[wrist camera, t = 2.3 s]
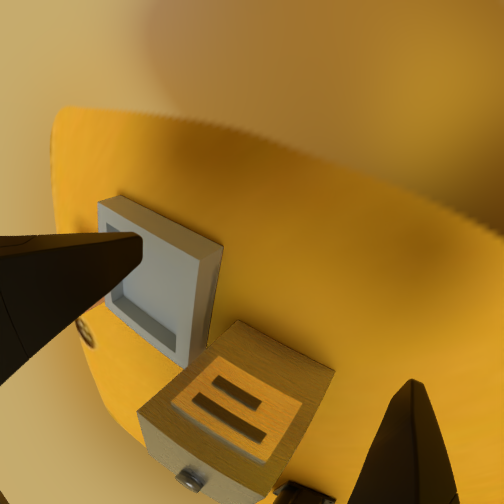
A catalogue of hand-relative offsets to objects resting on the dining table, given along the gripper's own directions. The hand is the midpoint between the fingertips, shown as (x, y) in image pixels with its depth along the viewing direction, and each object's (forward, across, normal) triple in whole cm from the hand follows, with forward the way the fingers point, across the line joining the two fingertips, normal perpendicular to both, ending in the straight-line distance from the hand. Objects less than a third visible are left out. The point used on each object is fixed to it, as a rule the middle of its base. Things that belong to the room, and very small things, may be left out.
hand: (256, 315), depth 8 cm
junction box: (+7, 0, +11) cm, 13 cm away
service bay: (+7, +10, +8) cm, 15 cm away
